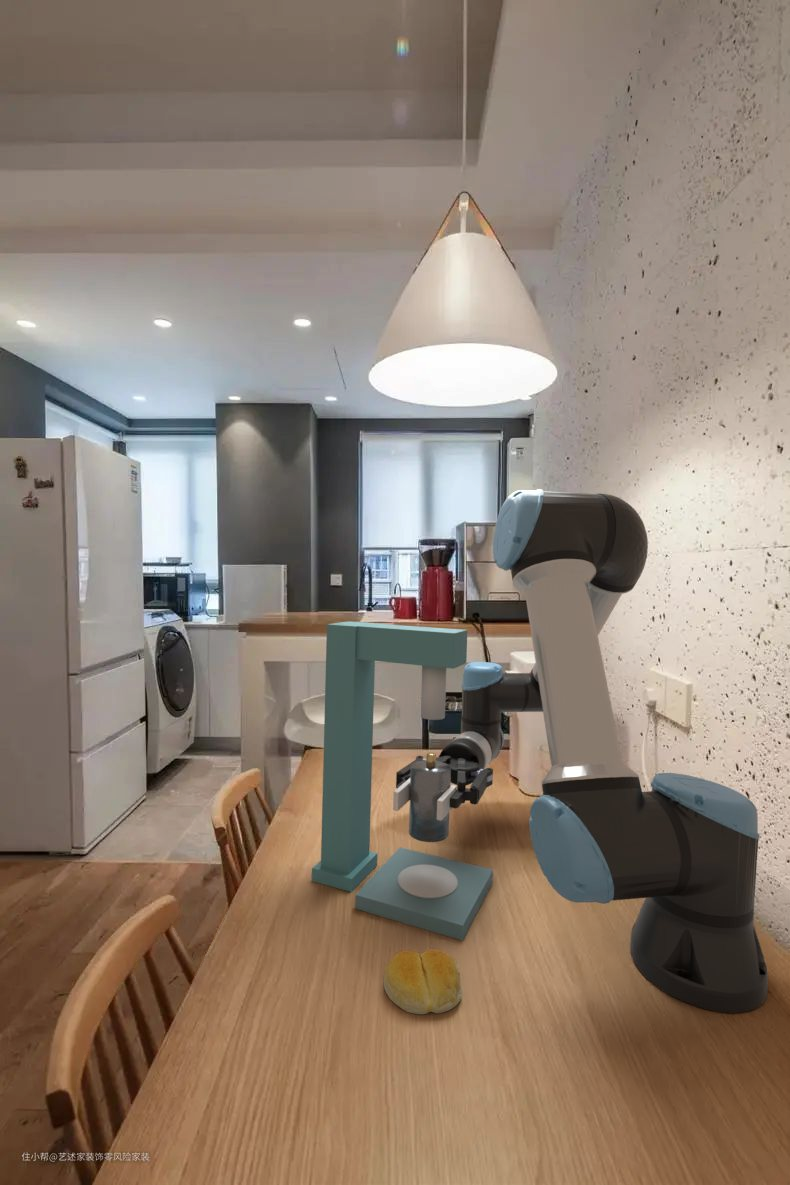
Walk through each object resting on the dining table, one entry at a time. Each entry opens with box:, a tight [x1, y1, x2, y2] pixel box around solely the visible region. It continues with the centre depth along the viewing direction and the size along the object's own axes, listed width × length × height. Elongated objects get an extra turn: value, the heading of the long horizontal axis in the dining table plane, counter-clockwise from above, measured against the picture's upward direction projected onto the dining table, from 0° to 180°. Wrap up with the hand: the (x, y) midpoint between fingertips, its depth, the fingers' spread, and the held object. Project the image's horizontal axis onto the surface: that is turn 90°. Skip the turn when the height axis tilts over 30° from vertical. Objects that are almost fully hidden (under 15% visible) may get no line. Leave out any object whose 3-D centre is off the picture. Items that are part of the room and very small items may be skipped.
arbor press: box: [311, 621, 494, 941], centre depth 87 cm, size 26×16×40 cm, turn 66°
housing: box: [408, 752, 451, 843], centre depth 86 cm, size 6×6×12 cm
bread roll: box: [383, 948, 463, 1015], centre depth 66 cm, size 8×9×4 cm
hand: (417, 805), depth 81 cm, fingers closed on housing, 6 cm apart
